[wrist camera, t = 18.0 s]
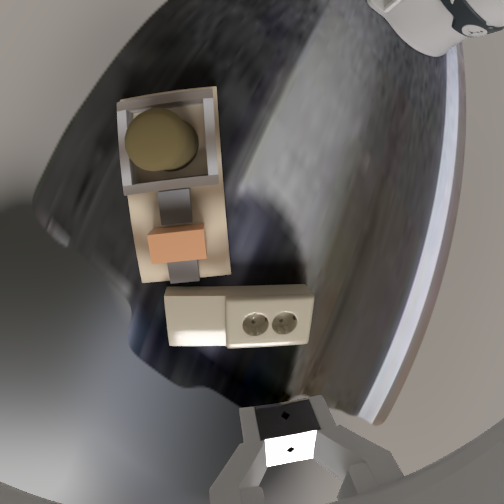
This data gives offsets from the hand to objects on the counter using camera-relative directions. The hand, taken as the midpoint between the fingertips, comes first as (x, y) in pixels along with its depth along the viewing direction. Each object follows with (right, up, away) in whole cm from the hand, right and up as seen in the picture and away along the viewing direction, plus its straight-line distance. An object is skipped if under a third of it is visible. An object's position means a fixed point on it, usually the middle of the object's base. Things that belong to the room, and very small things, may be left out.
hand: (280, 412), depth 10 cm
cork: (-10, +18, +21) cm, 29 cm away
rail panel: (-10, +13, +23) cm, 28 cm away
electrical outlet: (-3, -2, +30) cm, 30 cm away
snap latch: (-9, +7, +24) cm, 26 cm away
